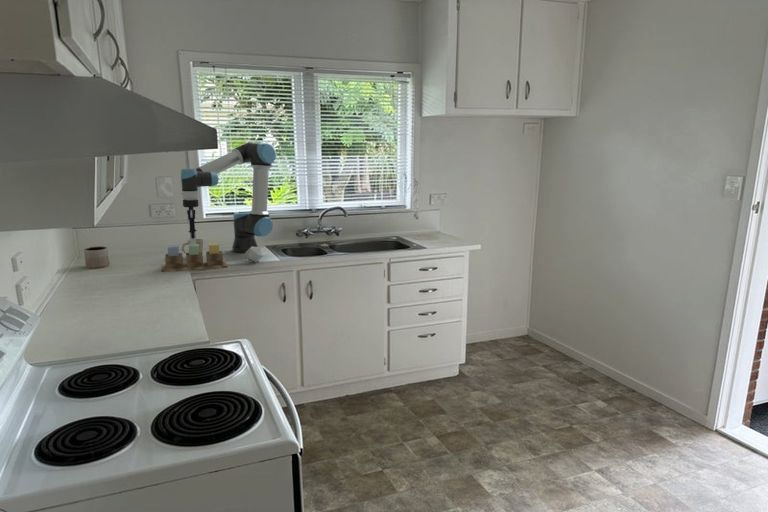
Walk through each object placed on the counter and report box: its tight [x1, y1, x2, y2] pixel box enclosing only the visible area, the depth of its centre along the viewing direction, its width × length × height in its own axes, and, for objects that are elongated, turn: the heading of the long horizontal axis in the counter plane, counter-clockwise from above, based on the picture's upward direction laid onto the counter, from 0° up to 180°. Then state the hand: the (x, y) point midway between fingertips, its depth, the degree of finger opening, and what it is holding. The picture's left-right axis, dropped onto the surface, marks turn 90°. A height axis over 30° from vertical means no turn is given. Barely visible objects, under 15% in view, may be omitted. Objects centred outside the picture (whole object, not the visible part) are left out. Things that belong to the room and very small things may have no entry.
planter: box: [83, 246, 110, 269], centre depth 267 cm, size 11×11×10 cm
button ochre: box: [208, 242, 220, 254], centre depth 271 cm, size 5×5×7 cm
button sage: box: [188, 244, 199, 255], centre depth 268 cm, size 5×5×7 cm
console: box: [161, 250, 228, 273], centre depth 269 cm, size 32×13×7 cm, turn 110°
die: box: [244, 246, 264, 263], centre depth 282 cm, size 8×9×10 cm
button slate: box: [167, 244, 180, 256], centre depth 264 cm, size 5×5×7 cm
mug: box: [181, 238, 204, 255], centre depth 289 cm, size 8×13×10 cm, turn 89°
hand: (193, 244), depth 267 cm, fingers closed
